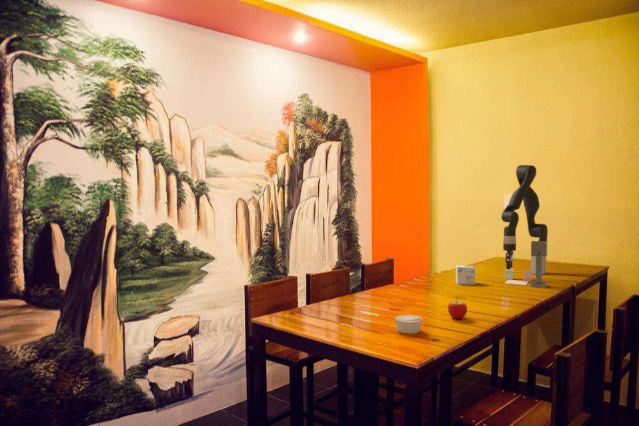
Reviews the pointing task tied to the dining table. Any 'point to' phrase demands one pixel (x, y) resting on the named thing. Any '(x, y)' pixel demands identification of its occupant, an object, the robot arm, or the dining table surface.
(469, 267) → the light bulb box
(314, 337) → the dining table surface
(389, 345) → the dining table surface
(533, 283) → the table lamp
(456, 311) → the apple
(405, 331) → the ramekin
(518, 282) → the plate
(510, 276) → the pale green rectangular block
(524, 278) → the block
